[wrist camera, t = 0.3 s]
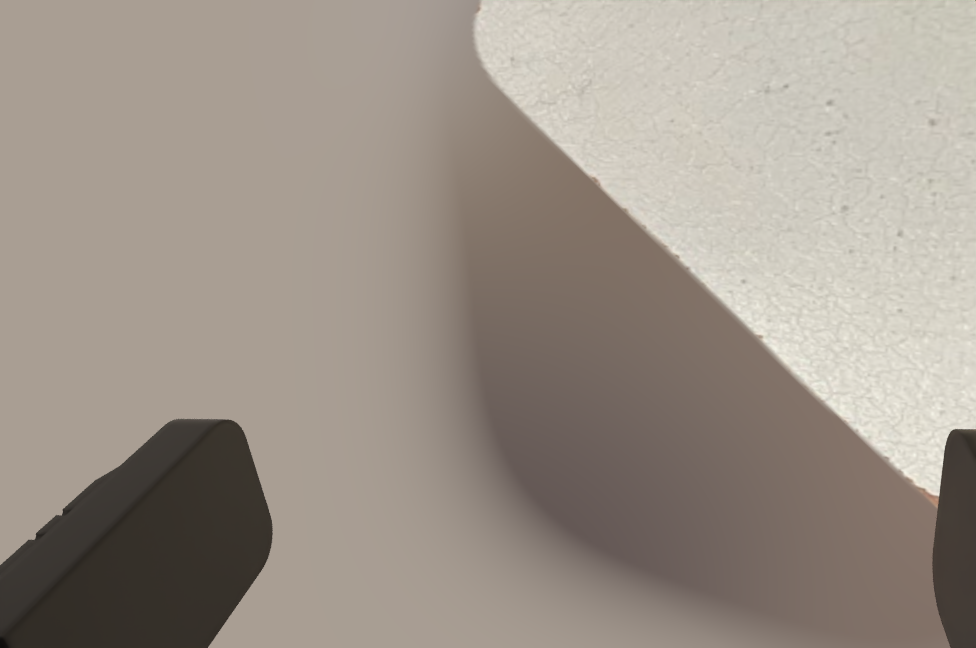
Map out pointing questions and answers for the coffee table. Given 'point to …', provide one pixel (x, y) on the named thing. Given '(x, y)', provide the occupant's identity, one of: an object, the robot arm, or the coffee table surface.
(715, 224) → the coffee table surface
